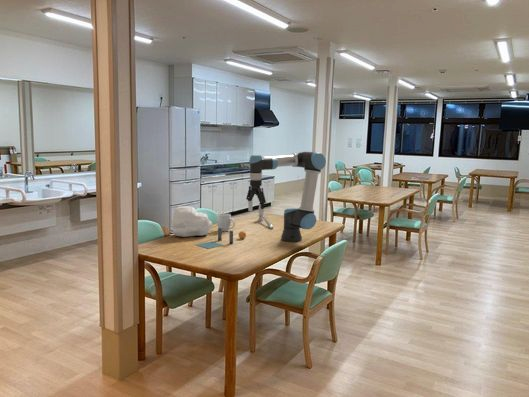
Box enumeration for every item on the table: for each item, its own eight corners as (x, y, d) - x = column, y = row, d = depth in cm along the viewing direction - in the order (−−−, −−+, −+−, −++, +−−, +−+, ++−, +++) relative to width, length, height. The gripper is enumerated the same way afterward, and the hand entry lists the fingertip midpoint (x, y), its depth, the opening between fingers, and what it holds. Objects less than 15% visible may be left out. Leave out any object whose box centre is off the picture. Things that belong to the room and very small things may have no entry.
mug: (237, 230, 349) (237, 214, 348) (231, 233, 339) (231, 216, 338) (221, 228, 355) (221, 212, 353) (214, 231, 345) (214, 215, 343)
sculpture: (172, 239, 316) (213, 238, 322) (172, 209, 313) (214, 209, 319) (171, 231, 341) (210, 231, 347) (171, 204, 338) (210, 204, 344)
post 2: (231, 242, 308) (231, 230, 307) (233, 243, 306) (233, 230, 305) (228, 243, 306) (228, 230, 305) (231, 244, 304) (231, 231, 303)
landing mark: (211, 241, 310) (211, 241, 310) (224, 245, 301) (224, 245, 301) (195, 244, 301) (195, 244, 301) (207, 248, 291) (207, 248, 291)
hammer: (275, 236, 359) (262, 219, 396) (276, 217, 354) (263, 202, 391) (269, 236, 357) (257, 220, 394) (271, 217, 353) (258, 202, 390)
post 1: (220, 239, 317) (220, 227, 316) (222, 240, 315) (222, 228, 314) (217, 240, 315) (217, 228, 314) (219, 241, 313) (219, 228, 312)
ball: (242, 237, 326) (242, 230, 325) (247, 238, 322) (247, 231, 321) (236, 238, 322) (237, 231, 321) (241, 239, 318) (242, 232, 317)
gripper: (241, 178, 288) (241, 210, 291) (261, 181, 268) (261, 215, 271) (250, 177, 292) (250, 209, 295) (271, 181, 272) (271, 214, 275)
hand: (255, 212), depth 283 cm, fingers open, 13 cm apart
